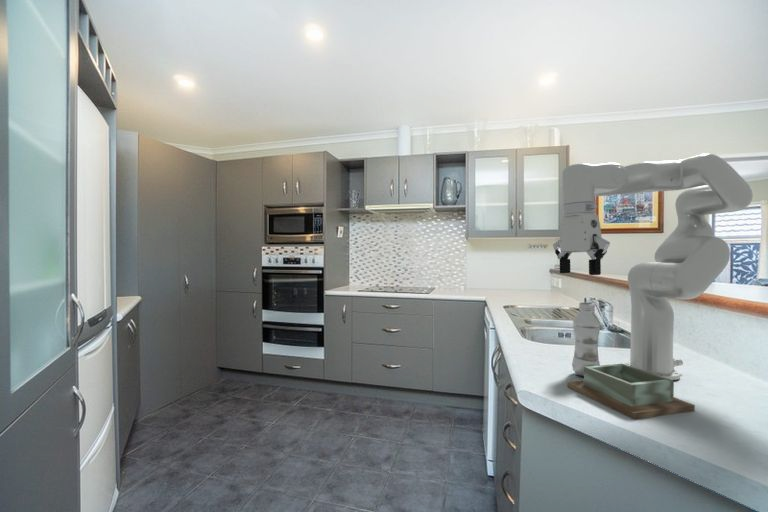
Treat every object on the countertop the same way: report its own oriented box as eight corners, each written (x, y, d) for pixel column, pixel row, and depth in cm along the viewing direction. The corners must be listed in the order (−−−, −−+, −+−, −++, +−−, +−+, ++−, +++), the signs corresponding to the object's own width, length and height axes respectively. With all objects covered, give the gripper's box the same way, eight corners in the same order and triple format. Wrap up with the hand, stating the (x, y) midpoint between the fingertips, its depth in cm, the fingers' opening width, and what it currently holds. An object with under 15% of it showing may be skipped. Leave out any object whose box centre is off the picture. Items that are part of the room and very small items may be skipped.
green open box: (620, 381, 89) (620, 360, 89) (694, 410, 72) (695, 384, 72) (567, 387, 84) (567, 364, 84) (634, 419, 68) (634, 390, 68)
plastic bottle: (604, 381, 89) (606, 305, 89) (576, 378, 90) (578, 304, 90) (594, 373, 95) (595, 302, 95) (568, 371, 96) (569, 301, 96)
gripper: (619, 206, 84) (620, 275, 84) (564, 214, 101) (565, 272, 101) (595, 206, 82) (596, 276, 82) (543, 214, 99) (544, 272, 99)
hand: (579, 273), depth 91 cm, fingers open, 9 cm apart
